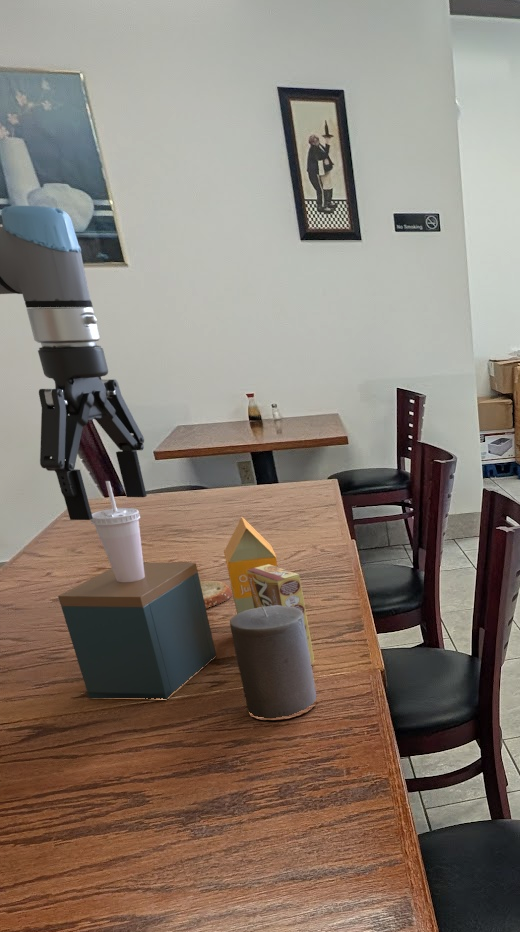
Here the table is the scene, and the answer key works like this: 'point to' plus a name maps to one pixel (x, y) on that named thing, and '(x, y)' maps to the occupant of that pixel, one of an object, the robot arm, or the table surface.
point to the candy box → (278, 591)
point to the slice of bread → (215, 592)
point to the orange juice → (246, 561)
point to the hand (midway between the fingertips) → (110, 507)
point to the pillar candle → (273, 660)
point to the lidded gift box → (139, 631)
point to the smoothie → (121, 539)
